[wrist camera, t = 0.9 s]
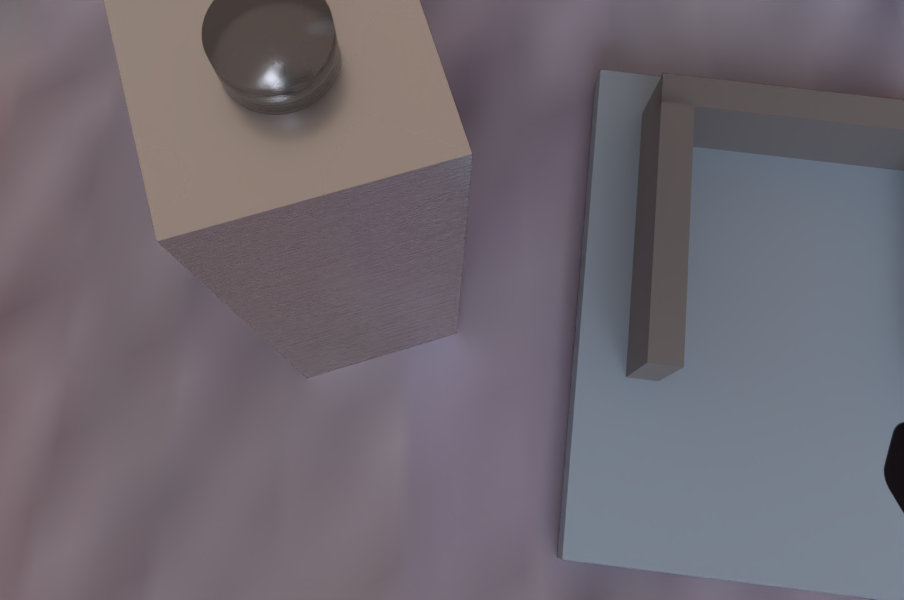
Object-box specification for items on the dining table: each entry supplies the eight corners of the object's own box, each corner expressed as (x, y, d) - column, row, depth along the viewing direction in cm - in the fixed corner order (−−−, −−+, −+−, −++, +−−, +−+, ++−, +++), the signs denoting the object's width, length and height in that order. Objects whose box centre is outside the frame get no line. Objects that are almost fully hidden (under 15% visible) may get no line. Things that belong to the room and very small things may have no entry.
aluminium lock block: (456, 333, 24) (474, 129, 11) (306, 378, 24) (136, 222, 11) (413, 195, 26) (381, -138, 12) (269, 235, 25) (74, -65, 12)
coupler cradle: (993, 612, 22) (1091, 631, 19) (557, 557, 23) (577, 566, 19) (963, 126, 26) (1039, 71, 23) (594, 85, 27) (617, 24, 23)
